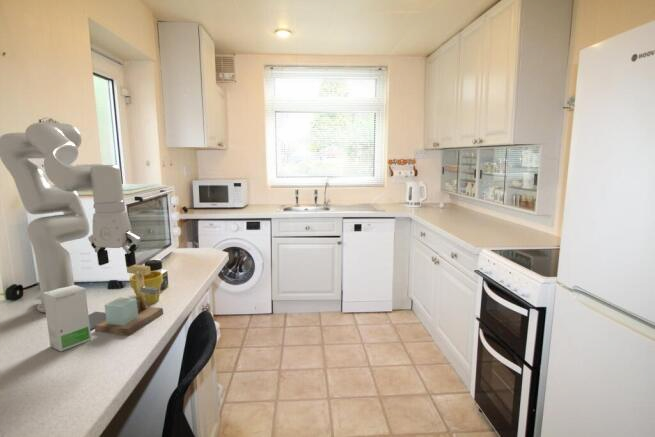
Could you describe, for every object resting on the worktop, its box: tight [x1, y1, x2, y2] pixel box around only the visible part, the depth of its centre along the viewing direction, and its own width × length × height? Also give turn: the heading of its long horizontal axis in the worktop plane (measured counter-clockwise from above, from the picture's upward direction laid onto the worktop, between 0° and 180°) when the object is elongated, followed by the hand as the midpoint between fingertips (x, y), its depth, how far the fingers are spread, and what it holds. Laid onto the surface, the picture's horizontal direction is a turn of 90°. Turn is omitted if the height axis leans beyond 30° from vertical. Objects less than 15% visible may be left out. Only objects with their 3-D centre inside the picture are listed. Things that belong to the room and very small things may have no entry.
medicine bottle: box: [144, 258, 170, 294], centre depth 142 cm, size 7×7×12 cm
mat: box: [88, 311, 106, 332], centre depth 116 cm, size 9×11×1 cm
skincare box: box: [43, 284, 92, 352], centre depth 103 cm, size 8×7×16 cm
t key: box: [126, 263, 159, 310], centre depth 119 cm, size 2×11×14 cm, turn 68°
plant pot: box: [129, 271, 163, 306], centre depth 131 cm, size 10×10×10 cm
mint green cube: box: [104, 296, 138, 326], centre depth 112 cm, size 6×6×6 cm
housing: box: [94, 305, 164, 336], centre depth 116 cm, size 12×15×2 cm
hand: (117, 264), depth 109 cm, fingers open, 9 cm apart
